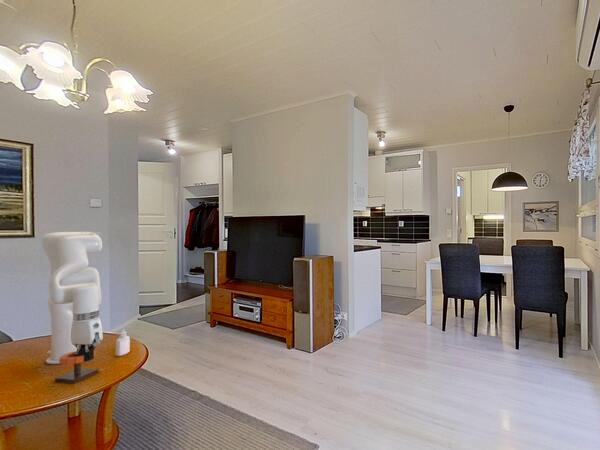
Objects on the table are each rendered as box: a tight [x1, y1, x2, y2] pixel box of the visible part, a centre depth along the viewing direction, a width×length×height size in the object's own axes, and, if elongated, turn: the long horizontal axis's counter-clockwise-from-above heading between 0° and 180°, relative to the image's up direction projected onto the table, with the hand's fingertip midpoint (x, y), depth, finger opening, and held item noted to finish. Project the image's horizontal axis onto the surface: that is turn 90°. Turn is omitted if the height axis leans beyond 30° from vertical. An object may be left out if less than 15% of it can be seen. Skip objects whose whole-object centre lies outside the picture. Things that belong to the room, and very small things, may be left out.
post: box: [54, 353, 100, 384], centre depth 127 cm, size 9×9×10 cm
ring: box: [59, 349, 96, 366], centre depth 127 cm, size 10×10×2 cm
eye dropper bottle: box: [115, 329, 131, 357], centre depth 150 cm, size 4×6×12 cm
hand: (86, 359), depth 127 cm, fingers closed on ring, 2 cm apart
